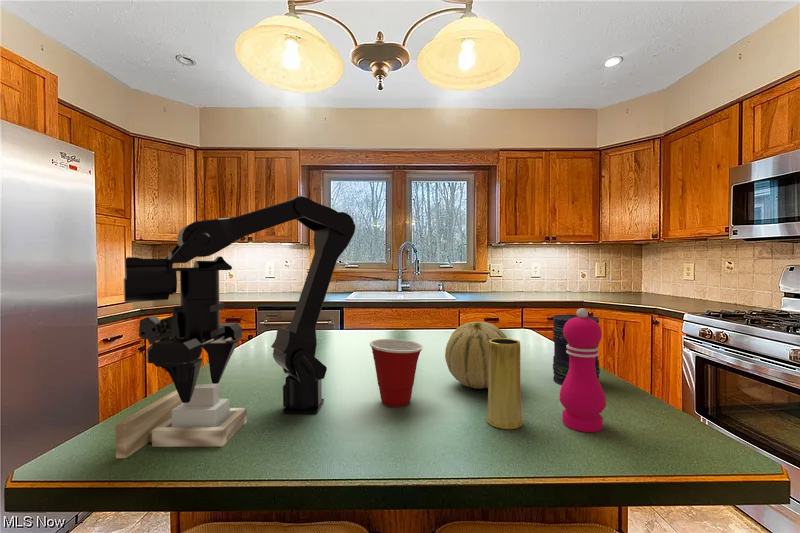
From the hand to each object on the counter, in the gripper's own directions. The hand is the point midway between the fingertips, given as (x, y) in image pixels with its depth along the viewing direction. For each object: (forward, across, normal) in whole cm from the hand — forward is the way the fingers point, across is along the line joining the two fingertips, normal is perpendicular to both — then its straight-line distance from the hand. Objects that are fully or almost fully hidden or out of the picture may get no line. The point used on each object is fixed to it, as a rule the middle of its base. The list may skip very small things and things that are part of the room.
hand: (201, 392), depth 64 cm
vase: (+7, -4, +51) cm, 52 cm away
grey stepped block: (+7, 0, 0) cm, 7 cm away
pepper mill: (+7, -3, +64) cm, 64 cm away
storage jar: (+7, -26, +73) cm, 78 cm away
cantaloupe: (+7, -23, +50) cm, 56 cm away
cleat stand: (+7, 0, -1) cm, 7 cm away
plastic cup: (+7, -14, +32) cm, 36 cm away
